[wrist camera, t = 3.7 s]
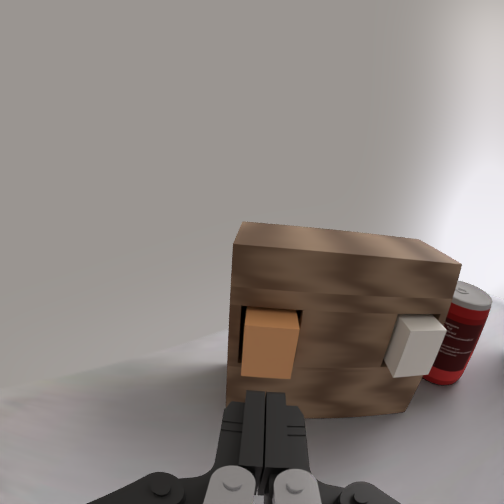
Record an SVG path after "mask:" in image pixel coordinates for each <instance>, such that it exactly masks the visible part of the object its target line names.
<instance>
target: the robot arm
mask: <svg viewBox="0 0 504 504" xmlns="http://www.w3.org/2000/svg"><path fill="white" fill-rule="evenodd" d="M257 488H258V495H264V504H400V503H399V502H397V501H396V500H394V499H393V498H391V497H390V496H388V495H387V494H385V493H384V492H383V491H381V490H380V489H378V488H377V487H375V486H374V485H372V484H370V483H367V482H355V483H352V484H350V485H348V486H346V487H345V488H342V487H337V486H332V485H327V484H324V483H322V482H320V481H318V480H317V479H316V478H315V477H314V476H313V475H312V473H311V471H310V468H309V459H308V449H307V440H306V430H305V421H304V415H303V413H302V412H301V410H300V409H299V407H298V406H288V405H286V396H285V393H283V392H267V391H266V395H265V391H255V390H246V398H245V402H235V401H231V402H230V403H229V405H228V406H227V407H226V408H225V410H224V414H223V420H222V425H221V431H220V437H219V442H218V448H217V454H216V459H215V463H214V466H213V467H212V469H211V470H210V471H209V472H208V473H206V474H204V475H202V476H199V477H194V478H182V479H178V478H177V477H175V476H173V475H171V474H169V473H164V472H155V473H151V474H149V475H147V476H145V477H143V478H141V479H139V480H137V481H135V482H133V483H131V484H129V485H127V486H125V487H123V488H121V489H119V490H117V491H115V492H112V493H110V494H108V495H106V496H103V497H101V498H99V499H97V500H94V501H92V502H89V503H87V504H252V503H253V497H254V495H256V492H257Z"/></svg>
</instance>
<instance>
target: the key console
mask: <svg viewBox="0 0 504 504" xmlns="http://www.w3.org/2000/svg"><path fill="white" fill-rule="evenodd" d="M232 256H233V257H232V273H231V293H230V313H229V335H228V359H227V387H226V407H227V406H228V405H229V403H230V402H231V401H235V402H245V398H246V390H255V391H265V395H266V391H267V392H283V393H285V396H286V405H288V406H298V407H299V409H300V410H301V412H302V413H303V415H304V418H345V417H361V416H374V415H384V414H393V413H400V412H405V410H406V409H407V407H408V405H409V403H410V401H411V399H412V397H413V395H414V393H415V391H416V389H417V387H418V385H419V383H420V381H421V379H422V377H423V375H419V376H408V377H396V378H393V376H392V374H391V373H390V371H389V369H388V367H387V365H386V363H385V361H384V359H383V358H384V355H385V353H386V350H387V347H388V344H389V341H390V338H391V335H392V332H393V328H394V325H395V322H396V319H397V315H398V314H432V315H433V316H434V317H435V318H436V319H437V320H438V321H439V322H440V323H441V324H442V325H444V323H445V320H446V317H447V314H448V311H449V308H450V305H451V302H452V298H453V295H454V292H455V288H456V285H457V281H458V278H459V274H460V270H461V266H462V264H461V263H459V262H457V261H456V260H454V259H452V258H451V257H449V256H447V255H446V254H444V253H442V252H440V251H438V250H437V249H435V248H433V247H431V246H430V245H428V244H426V243H424V242H422V241H421V240H418V239H411V238H403V237H394V236H385V235H377V234H369V233H359V232H350V231H341V230H330V229H320V228H311V227H300V226H289V225H278V224H265V223H254V222H242V224H241V227H240V229H239V231H238V234H237V236H236V238H235V241H234V243H233V255H232ZM247 306H253V307H266V308H279V309H293V310H296V312H297V317H298V323H299V328H300V331H299V336H298V342H297V347H296V353H295V358H294V363H293V368H292V373H291V378H290V379H278V378H262V377H249V376H241V367H242V353H243V340H244V326H245V318H246V311H247Z"/></svg>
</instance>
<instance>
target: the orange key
mask: <svg viewBox="0 0 504 504" xmlns="http://www.w3.org/2000/svg"><path fill="white" fill-rule="evenodd" d="M299 331H300V328H299V323H298V317H297V312H296V310H293V309H279V308H266V307H253V306H247V311H246V318H245V326H244V340H243V353H242V367H241V376H249V377H262V378H278V379H290V378H291V373H292V368H293V363H294V358H295V353H296V347H297V342H298V336H299Z"/></svg>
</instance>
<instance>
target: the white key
mask: <svg viewBox="0 0 504 504" xmlns="http://www.w3.org/2000/svg"><path fill="white" fill-rule="evenodd" d="M446 331H447V330H446V328H445V327H444V326H443V325H442V324H441V323H440V322H439V321H438V320H437V319H436V318H435V317H434V316H433V315H432V314H398V315H397V319H396V322H395V325H394V328H393V332H392V335H391V338H390V341H389V344H388V347H387V350H386V353H385V355H384V358H383V359H384V361H385V363H386V365H387V367H388V369H389V371H390V373H391V374H392V376H393V378H396V377H408V376H419V375H428V374H429V372H430V370H431V368H432V365H433V363H434V361H435V358H436V356H437V354H438V351H439V349H440V347H441V344H442V342H443V339H444V336H445V334H446Z"/></svg>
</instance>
